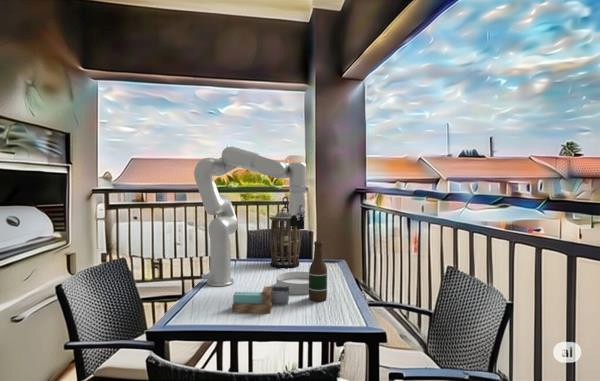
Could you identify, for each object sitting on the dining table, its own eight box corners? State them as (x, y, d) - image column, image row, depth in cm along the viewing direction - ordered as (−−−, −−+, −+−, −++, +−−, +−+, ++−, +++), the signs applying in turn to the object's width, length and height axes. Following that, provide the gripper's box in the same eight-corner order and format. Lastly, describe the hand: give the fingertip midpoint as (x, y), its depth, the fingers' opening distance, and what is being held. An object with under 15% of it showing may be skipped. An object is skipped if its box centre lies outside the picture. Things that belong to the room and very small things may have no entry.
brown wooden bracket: (232, 312, 139) (232, 291, 139) (236, 305, 147) (236, 286, 146) (269, 313, 139) (270, 292, 138) (272, 306, 146) (272, 286, 146)
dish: (292, 279, 188) (292, 269, 188) (332, 285, 177) (332, 275, 177) (266, 290, 169) (266, 279, 169) (308, 298, 158) (308, 286, 158)
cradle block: (267, 304, 148) (267, 292, 148) (269, 298, 156) (269, 286, 156) (287, 304, 148) (287, 292, 148) (289, 298, 156) (289, 286, 156)
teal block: (233, 305, 141) (233, 295, 141) (235, 302, 145) (235, 292, 145) (265, 306, 140) (265, 295, 140) (266, 302, 144) (266, 292, 144)
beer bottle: (321, 303, 150) (322, 243, 150) (305, 299, 155) (305, 241, 154) (330, 298, 157) (331, 241, 157) (314, 295, 161) (314, 239, 161)
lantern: (299, 261, 229) (299, 196, 228) (303, 268, 210) (304, 197, 209) (267, 262, 227) (267, 195, 226) (269, 269, 207) (269, 197, 207)
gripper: (284, 189, 176) (283, 225, 176) (295, 190, 159) (295, 230, 160) (299, 189, 178) (298, 225, 179) (312, 190, 162) (311, 230, 162)
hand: (297, 227), depth 169 cm, fingers open, 9 cm apart
